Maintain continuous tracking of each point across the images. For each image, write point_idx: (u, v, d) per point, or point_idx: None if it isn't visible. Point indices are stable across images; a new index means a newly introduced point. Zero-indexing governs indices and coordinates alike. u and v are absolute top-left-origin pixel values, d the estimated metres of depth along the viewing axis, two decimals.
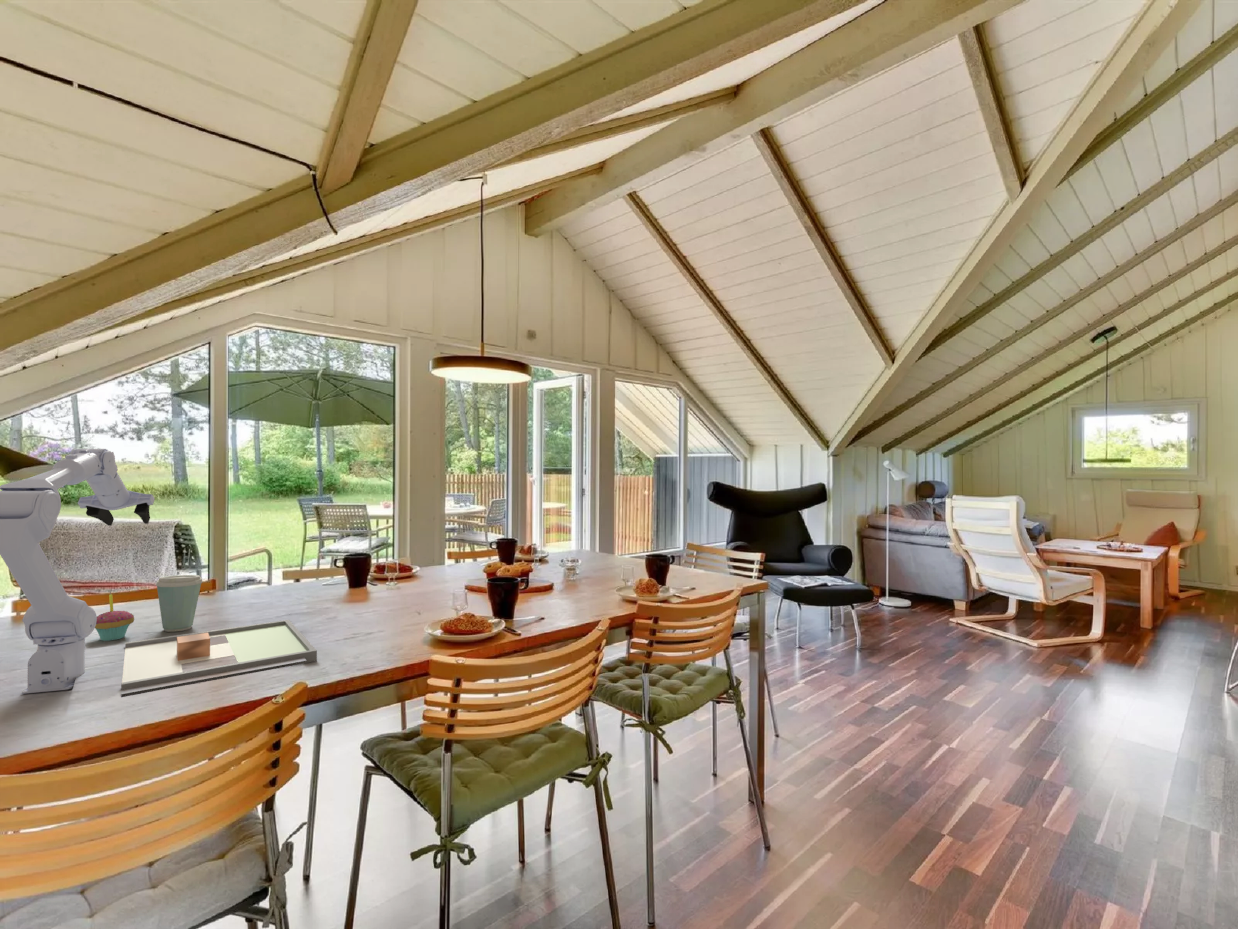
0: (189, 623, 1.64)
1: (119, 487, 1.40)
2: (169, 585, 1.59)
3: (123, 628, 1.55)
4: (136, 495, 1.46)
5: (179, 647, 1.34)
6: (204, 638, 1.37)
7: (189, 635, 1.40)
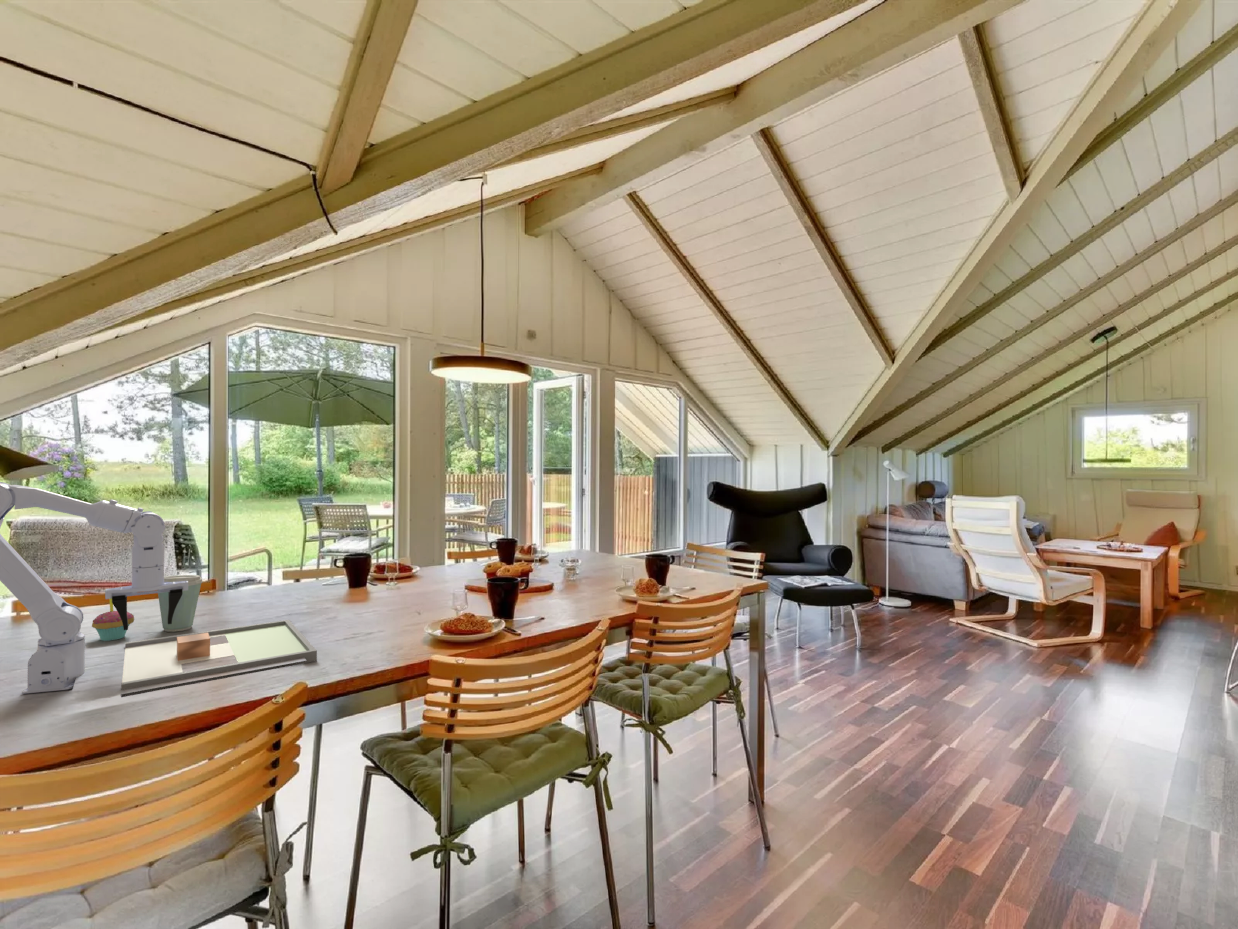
0: (189, 623, 1.64)
1: (143, 564, 1.30)
2: None
3: (123, 628, 1.55)
4: None
5: (179, 647, 1.34)
6: (204, 638, 1.37)
7: (189, 635, 1.40)
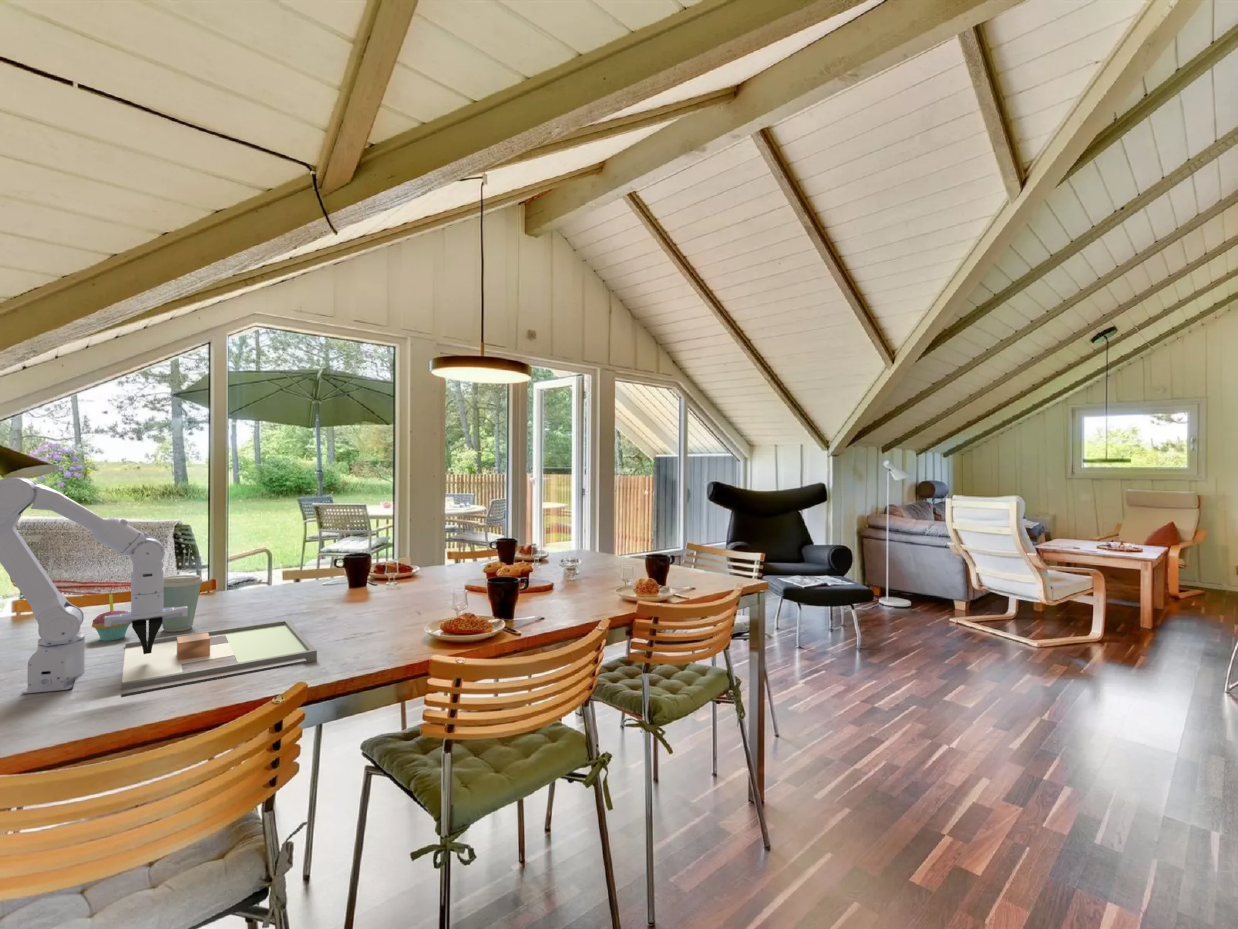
0: (189, 623, 1.64)
1: (142, 591, 1.30)
2: (169, 585, 1.59)
3: (123, 628, 1.55)
4: None
5: (179, 647, 1.34)
6: (204, 638, 1.37)
7: (189, 635, 1.40)
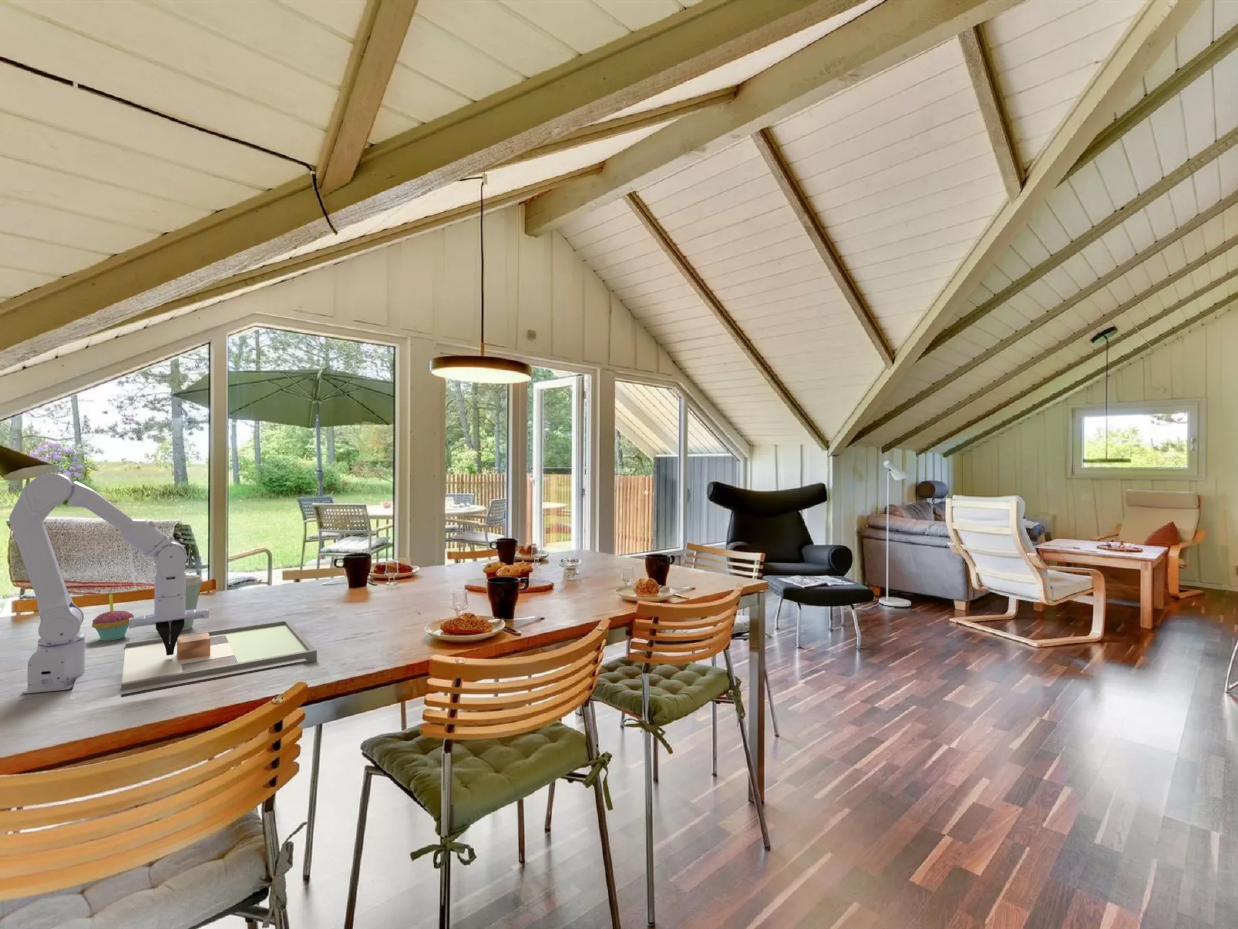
0: (189, 623, 1.64)
1: (166, 593, 1.32)
2: None
3: (123, 628, 1.55)
4: None
5: (179, 647, 1.34)
6: (204, 638, 1.37)
7: (189, 635, 1.40)
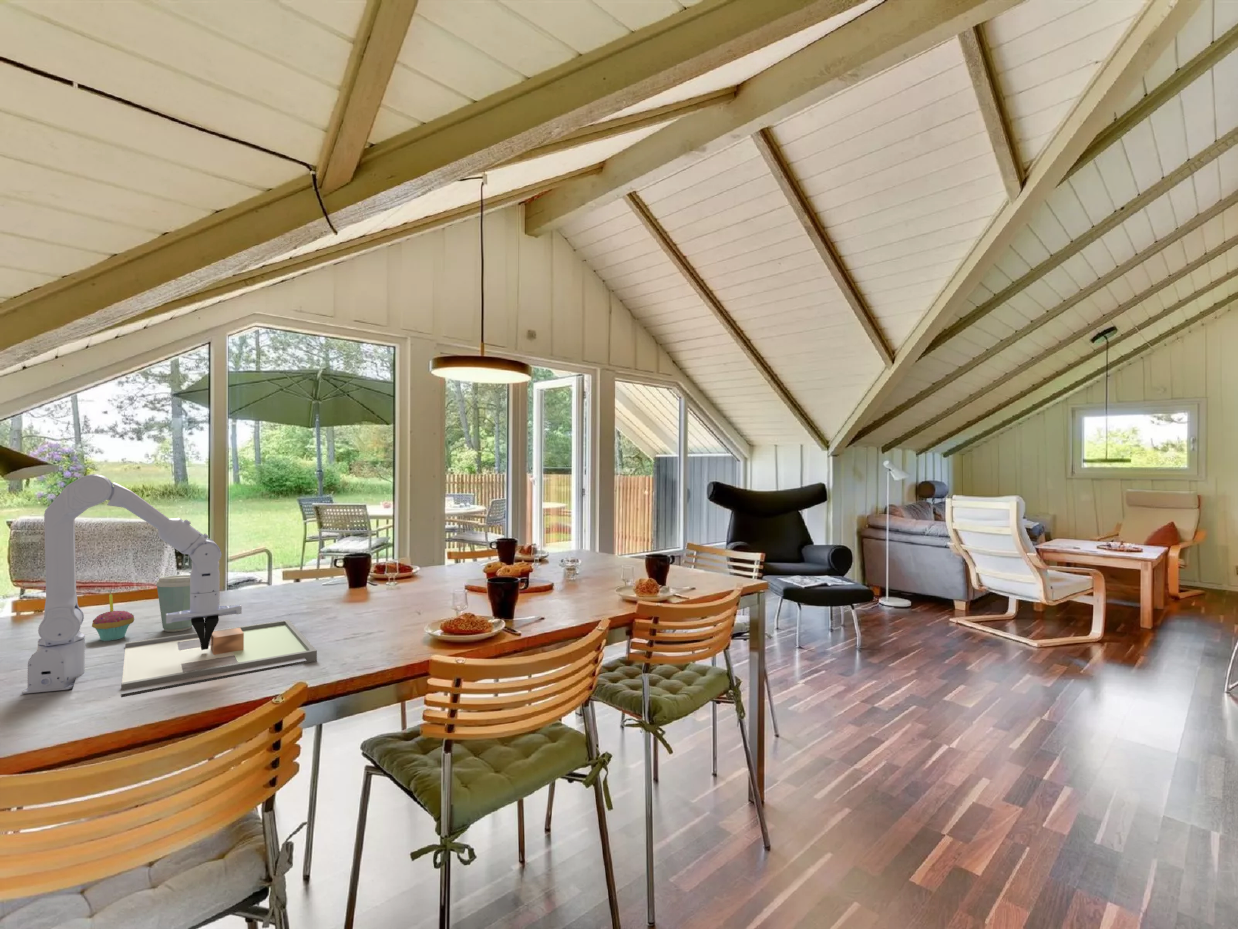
0: (189, 623, 1.64)
1: (201, 590, 1.37)
2: (169, 585, 1.59)
3: (123, 628, 1.55)
4: None
5: (214, 641, 1.38)
6: (238, 633, 1.42)
7: (222, 630, 1.44)
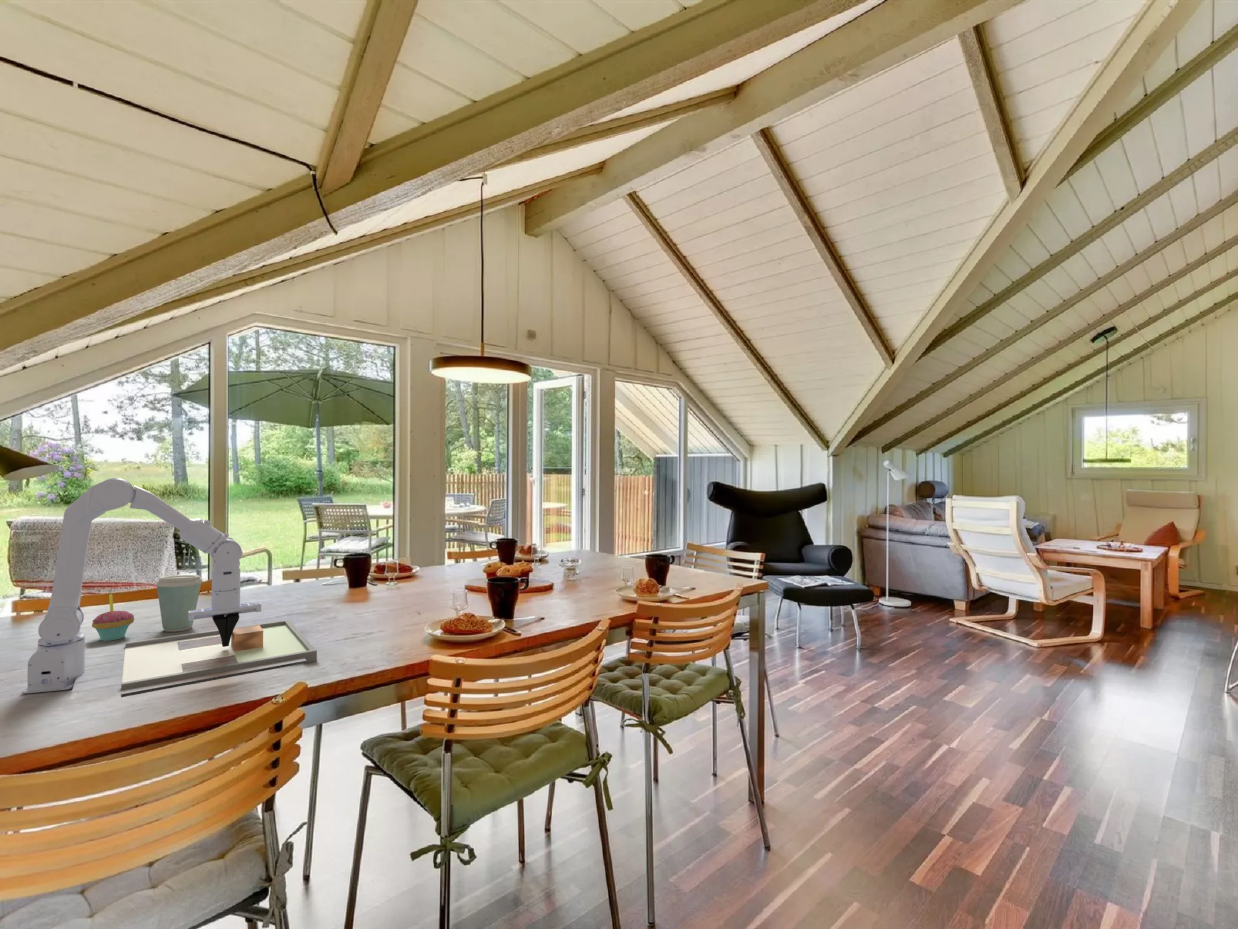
0: (189, 623, 1.64)
1: (223, 588, 1.39)
2: (169, 585, 1.59)
3: (123, 628, 1.55)
4: None
5: (235, 638, 1.41)
6: (257, 630, 1.44)
7: None
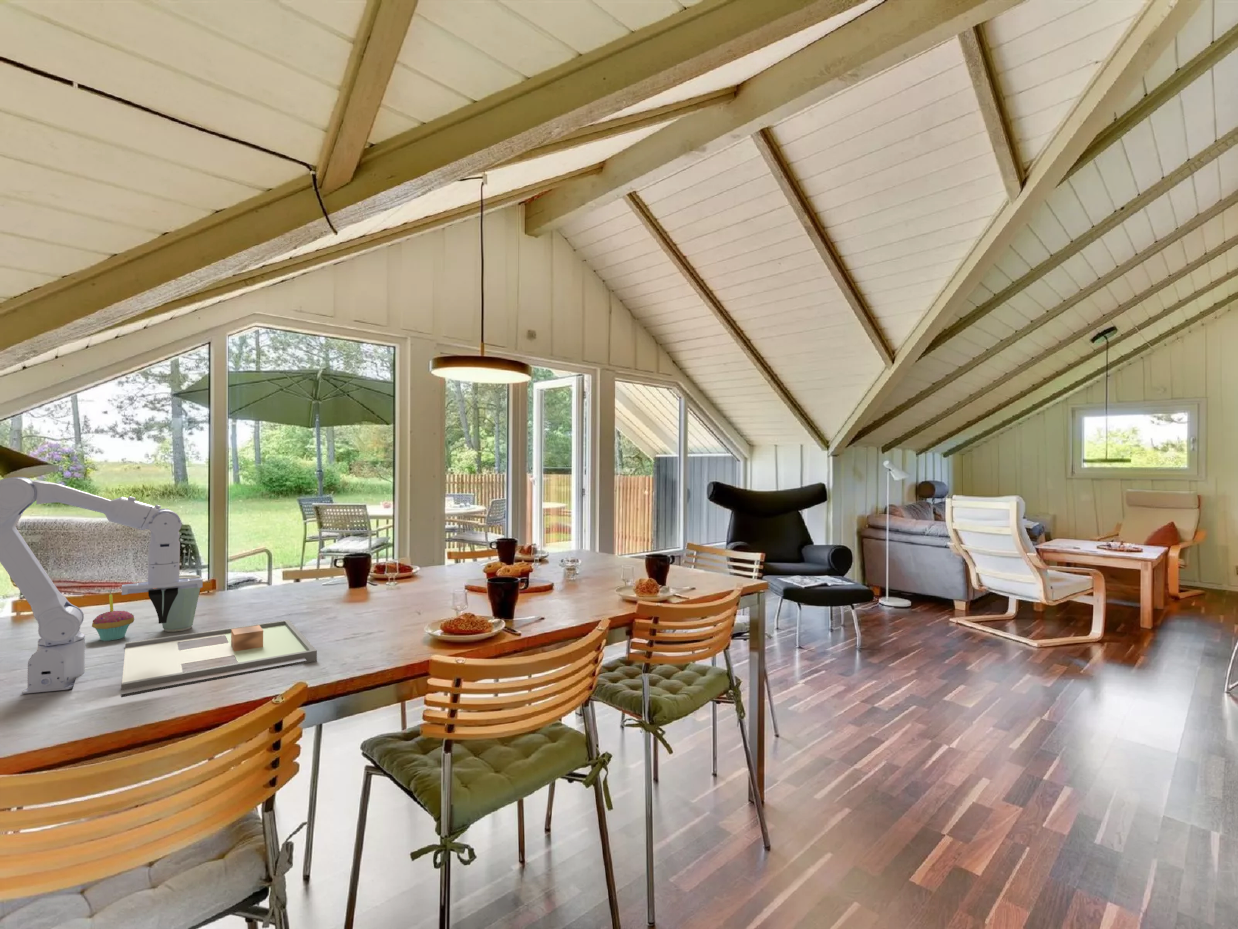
0: (189, 623, 1.64)
1: (159, 560, 1.32)
2: None
3: (123, 628, 1.55)
4: None
5: (235, 638, 1.41)
6: (257, 630, 1.44)
7: None
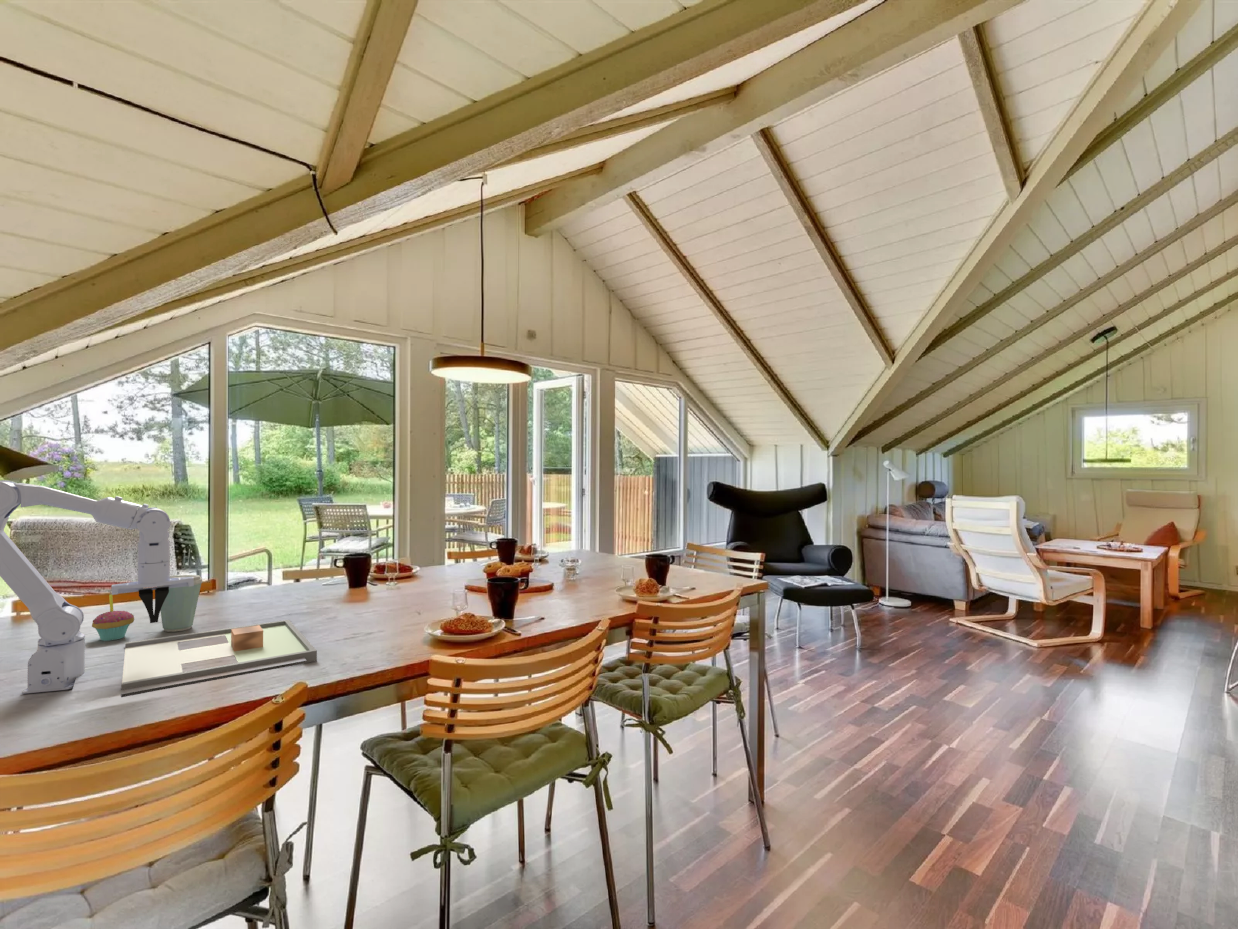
0: (189, 623, 1.64)
1: (149, 560, 1.31)
2: None
3: (123, 628, 1.55)
4: None
5: (235, 638, 1.41)
6: (257, 630, 1.44)
7: None
